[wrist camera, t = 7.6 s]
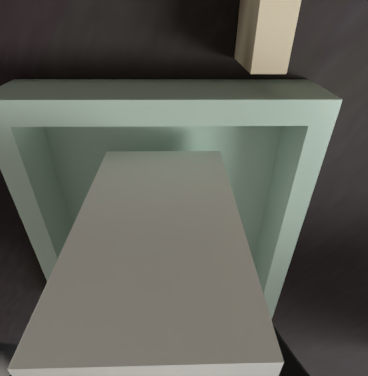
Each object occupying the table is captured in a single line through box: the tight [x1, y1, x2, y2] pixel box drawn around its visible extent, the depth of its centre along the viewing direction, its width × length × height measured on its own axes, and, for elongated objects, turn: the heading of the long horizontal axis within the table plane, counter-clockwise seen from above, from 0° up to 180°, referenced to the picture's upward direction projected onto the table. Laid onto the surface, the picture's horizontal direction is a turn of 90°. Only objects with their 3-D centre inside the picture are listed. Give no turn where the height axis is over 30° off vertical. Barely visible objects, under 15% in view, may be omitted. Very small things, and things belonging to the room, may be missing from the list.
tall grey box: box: [7, 151, 284, 376], centre depth 9 cm, size 9×4×7 cm, turn 0°
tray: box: [0, 79, 342, 320], centre depth 13 cm, size 13×11×2 cm
